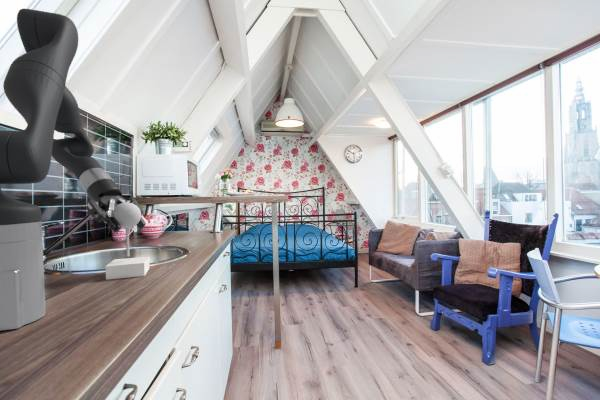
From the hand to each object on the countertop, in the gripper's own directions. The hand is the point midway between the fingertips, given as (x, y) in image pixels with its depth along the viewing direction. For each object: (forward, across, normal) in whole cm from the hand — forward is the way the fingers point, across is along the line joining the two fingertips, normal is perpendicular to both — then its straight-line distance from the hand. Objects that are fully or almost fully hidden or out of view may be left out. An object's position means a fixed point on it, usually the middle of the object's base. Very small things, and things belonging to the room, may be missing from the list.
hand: (131, 228), depth 83 cm
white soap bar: (+8, 0, +10) cm, 13 cm away
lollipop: (+5, 0, +7) cm, 8 cm away
